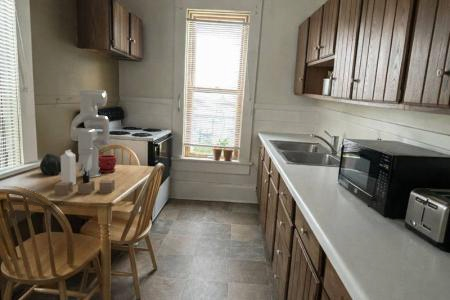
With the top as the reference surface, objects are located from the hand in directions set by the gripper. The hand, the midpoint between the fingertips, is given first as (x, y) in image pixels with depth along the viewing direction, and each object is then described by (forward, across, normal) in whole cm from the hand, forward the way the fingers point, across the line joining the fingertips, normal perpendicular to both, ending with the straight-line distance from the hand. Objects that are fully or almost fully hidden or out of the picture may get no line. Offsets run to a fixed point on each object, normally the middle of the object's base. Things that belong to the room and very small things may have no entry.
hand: (86, 182), depth 177 cm
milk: (+6, -14, -15) cm, 21 cm away
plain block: (+6, 0, 0) cm, 6 cm away
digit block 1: (+6, +3, -11) cm, 13 cm away
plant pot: (+6, -51, -2) cm, 51 cm away
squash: (+6, -40, -36) cm, 54 cm away
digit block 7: (+6, -4, +11) cm, 13 cm away
